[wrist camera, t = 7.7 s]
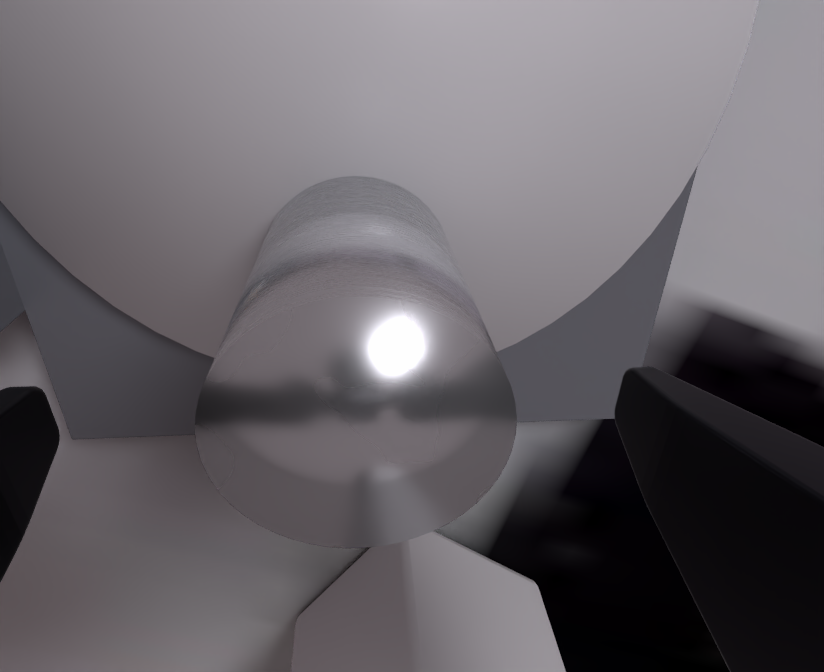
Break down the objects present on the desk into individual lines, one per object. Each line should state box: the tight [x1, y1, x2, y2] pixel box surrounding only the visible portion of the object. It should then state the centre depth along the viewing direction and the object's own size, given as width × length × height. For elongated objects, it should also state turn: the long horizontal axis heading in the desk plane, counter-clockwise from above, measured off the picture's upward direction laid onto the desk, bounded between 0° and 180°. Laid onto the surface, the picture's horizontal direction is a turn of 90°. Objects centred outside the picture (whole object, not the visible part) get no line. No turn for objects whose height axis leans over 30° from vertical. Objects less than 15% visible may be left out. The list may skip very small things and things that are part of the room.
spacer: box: [195, 176, 517, 548], centre depth 10 cm, size 4×4×6 cm
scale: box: [0, 0, 759, 439], centre depth 10 cm, size 20×20×3 cm
